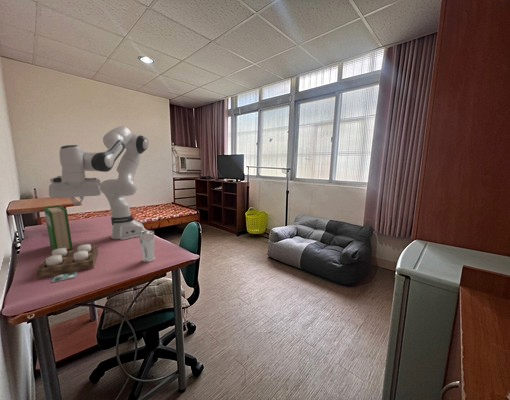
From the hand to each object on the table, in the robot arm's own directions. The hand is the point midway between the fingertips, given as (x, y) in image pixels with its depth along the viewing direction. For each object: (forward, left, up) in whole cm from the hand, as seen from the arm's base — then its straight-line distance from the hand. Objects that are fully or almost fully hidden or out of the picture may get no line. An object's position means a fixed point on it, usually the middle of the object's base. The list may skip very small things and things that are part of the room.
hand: (78, 205), depth 112 cm
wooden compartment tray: (+5, +5, -29) cm, 30 cm away
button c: (0, +10, -25) cm, 27 cm away
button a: (0, 0, -25) cm, 25 cm away
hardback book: (+15, -26, -29) cm, 42 cm away
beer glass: (-29, +18, -29) cm, 45 cm away
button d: (+10, +10, -25) cm, 29 cm away
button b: (+10, 0, -25) cm, 27 cm away
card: (+5, +19, -29) cm, 35 cm away
